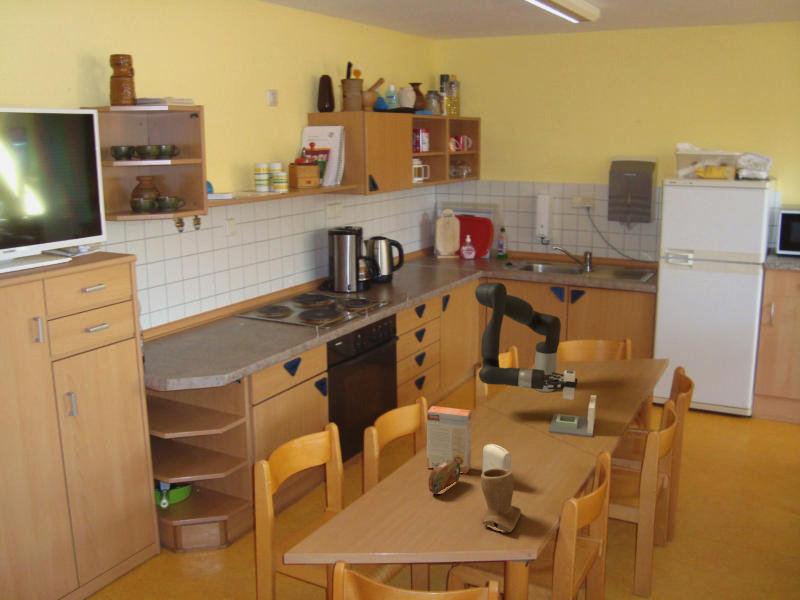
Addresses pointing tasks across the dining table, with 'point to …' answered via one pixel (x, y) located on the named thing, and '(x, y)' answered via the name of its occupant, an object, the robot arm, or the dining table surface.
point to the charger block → (568, 392)
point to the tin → (444, 476)
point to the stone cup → (499, 499)
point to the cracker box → (449, 437)
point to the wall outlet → (575, 422)
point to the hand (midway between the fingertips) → (576, 383)
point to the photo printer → (496, 457)
